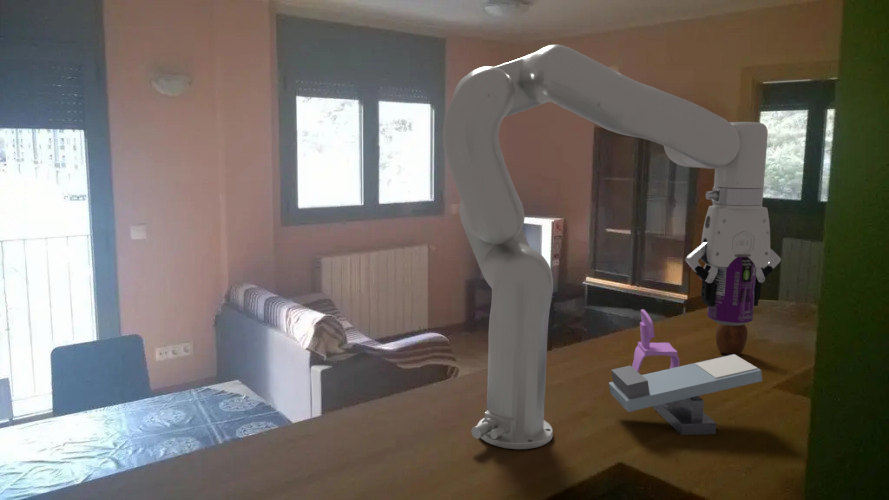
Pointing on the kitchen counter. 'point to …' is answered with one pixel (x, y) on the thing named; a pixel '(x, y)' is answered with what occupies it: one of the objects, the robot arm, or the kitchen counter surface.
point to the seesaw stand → (687, 416)
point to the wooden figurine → (731, 338)
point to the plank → (680, 381)
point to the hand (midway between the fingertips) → (729, 303)
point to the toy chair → (651, 344)
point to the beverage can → (734, 292)
